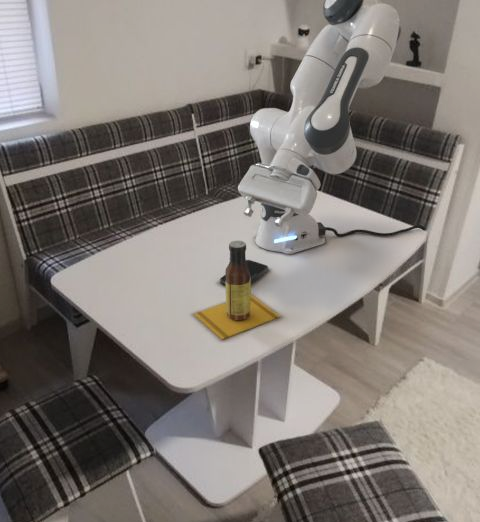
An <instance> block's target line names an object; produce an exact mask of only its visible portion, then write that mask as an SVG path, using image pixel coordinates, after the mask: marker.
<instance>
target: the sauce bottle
mask: <svg viewBox="0 0 480 522" xmlns="http://www.w3.org/2000/svg"><path fill="white" fill-rule="evenodd" d="M228 249H229V250H228V251H229V263H228V264H227V266H226V268H225V275H226V280H225V282H226V286H225V303H226V311H227V316H228V317H229V318H230V319H232V320H237V321H240V320H245V319H247V318H248V317H249V316H250V310H251V295H252V286H251V285H252V284H251V274H250V271H249V268H248V265H247V262H246V260H247V259H246V251H247V243H246V242H245V241H243V240H232V241H230V242H229V244H228Z"/></svg>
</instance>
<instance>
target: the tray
mask: <svg viewBox="0 0 480 522" xmlns="http://www.w3.org/2000/svg"><path fill="white" fill-rule="evenodd" d="M193 316H195V318H196V319H198V320H199V321H200V322H201V323H202V324H203V325H204V326H205V327H206V328H208V329H209V330H210V331H211V332H212V333H213V334H215V336H217V337H218V338H219V339H220V340H221V341H223V340H226V339H228V338H231V337H233V336H236V335H238V334H241V333H243V332H246V331H248V330H252V329H253V328H256V327H259V326H261V325H264V324H266V323H269V322H271V321H274V320H276V319H279V318H281V315H279V314H278V313H277V312H275V311H274V310H273V309H272V308H270V307H269V306H268V305H267V304H264V303H263V302H262V301H261V300H260V299H258V298H256V296H254V295H253V294H251V310H250V316H249V317H248V318H247V319H245V320H240V321H237V320H232V319H230V318H229V317H228V316H227V311H226V302H223V303H221V304H218V305H215V306H212V307H209V308H206V309H204V310H201V311H198V312H195V313H193Z"/></svg>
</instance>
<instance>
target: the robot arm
mask: <svg viewBox="0 0 480 522" xmlns="http://www.w3.org/2000/svg"><path fill="white" fill-rule="evenodd" d="M322 14H323V17H324V18H325V20H326V21H327V22H328V24H327V25H325V26H324V27H323V28H322V29H321V31H319V33H318V34H317V36H316V37H315V38H314V40H313V42H312V43H311V45H310V46H309V48H308V49H307V51H306V53H305V54H304V56H303V58H302V60H301V62H300V64H299V66H298V68H297V70H296V71H295V74H294V75H293V77H292V79H291V81H290V88H289V89H290V92H291V94H292V96H293V97H292V102H291V106H290V109H289V111H285V110H283V109H280V108H276V107H266V108H265V107H264V108H260V109H258V110H257V111H256V112H255V113H254V114H253V116H252V118H251V120H250V124H249V132H250V136H251V138H252V139H253V141H254V143H255V144H256V147H257V151H258V153H259V158H260V162H256V163H254V164H251V165H250V167H249V169H248V170H247V172H246V173H245V175H244V176H243V178H242V179H241V181H240V183H239V184H238V186H237V190H238V191H237V192H238V194H240V195H241V196H242V198H244V199H245V208H244V210H243V215H244V216H245V217H249V218H251V217H252V216H253V214H254V212H255V211H254V210H253V208H252V205H255V202H257V203H260V220H259V221H260V223H259V226H258V230H257V233H256V237H255V241H254V242H255V243H256V245H257V246H258V247H260V248H262V249H265V250H267V251H272V252H279V253H283V254H287V255H293V254H296V253H299V252H302V251H306V250H308V249H311V248H315V247H317V246H321V245H322V246H323V245H324V244H325V243H326V238H325V236H326V232H327V231H331V232H332V233H334V235H335V236H336V237H338V238H341V237H347V236H349V235H352V234H356V233H361V234H367V235H368V234H369V235H373V236H378V237H392V236H396V235H399V234H402V233H406V232H409V231H412V230H415V229H421V230H422V231H426V228H425V226H424V225H421V224H416V225H413V226H410V227H407V228H404V229H403V228H402V229H399V230H396V231H393V232H378V231H377V232H376V231H372V230H368V229H352V230H350V231H347V232H344V233H338V230H337V229H335V228H333V227H329V226H328V227H327V226H324V224H323V223H322V222H321V221H317V220H316V219H315V218H314V217H313V216H312V215H311V211H312V209H313V207H314V205H315V202H316V200H317V198H318V192H317V191H318V190H319V189H321V188H320V187H321V181H320V178H318V175H317V173H316V172H315V171H314V170H313V168H311V166H313V167H315V168H316V169H318V170H319V171H321V172H324V173H326V174H328V175H332V176H333V175H335V176H336V175H340V174H341V175H342V174H343V173H346V172H347V171H348V170H349V169H351V168H352V166H353V165H354V164H355V162H356V160H357V156H358V155H357V154H358V152H357V147H356V143H355V139H354V135H353V132H352V126H351V119H350V114H349V113H350V106H351V104H352V102H353V99H354V97H355V95H356V92H357V90H358V89H370V88H373V87H375V86H377V85H378V84H379V83H381V82H382V80H383V78H384V76H385V75H386V74H387V71H388V69H389V67H390V64H391V61H392V58H393V56H394V53H395V49H396V45H397V43H398V41H399V40H400V37H401V32H402V28H401V25H400V24H401V23H400V21H401V20H400V15H399V13H398V11H397V10H396V9H395V7H393V6H392V5H390V4H388V3H384V2H382V1H381V0H324V2H323V6H322Z"/></svg>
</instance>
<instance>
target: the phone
mask: <svg viewBox="0 0 480 522" xmlns="http://www.w3.org/2000/svg"><path fill="white" fill-rule="evenodd" d="M246 262H247V265H248V268H249V271H250V274H251V285H252V284H253V283H254V282H256V281H257V280H258V279H260V278H261V277H263V275H265V274H266V273H267V272H268V271H269V266H268V265H266V264H264V263H261V262H257V261H254V260H252V259H246ZM225 280H226V274H224V275H223V276H221V277H220V278H219V283H220V285H223V286H225V287H226V282H225Z"/></svg>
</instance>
